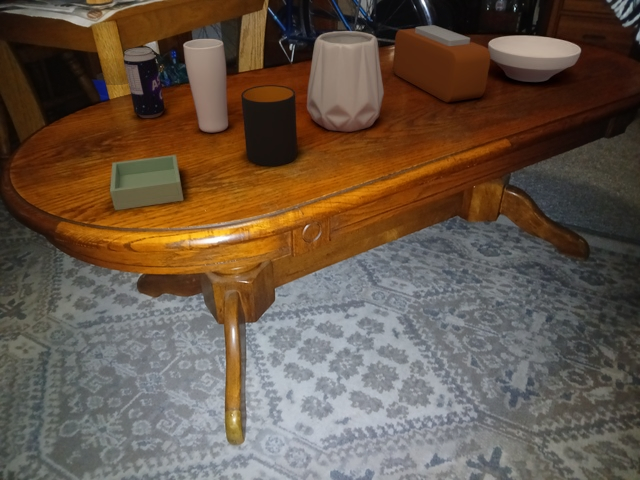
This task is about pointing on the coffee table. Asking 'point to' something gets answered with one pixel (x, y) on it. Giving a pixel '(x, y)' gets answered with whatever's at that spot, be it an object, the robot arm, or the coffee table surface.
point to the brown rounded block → (441, 62)
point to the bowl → (532, 56)
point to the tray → (145, 182)
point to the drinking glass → (208, 82)
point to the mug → (270, 124)
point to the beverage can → (144, 82)
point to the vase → (345, 81)
